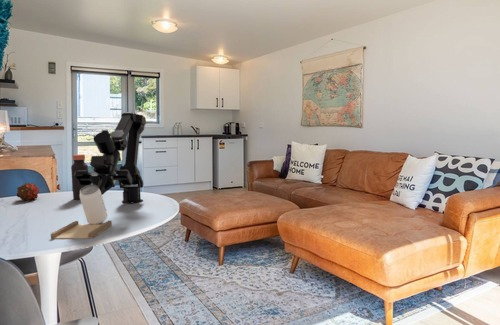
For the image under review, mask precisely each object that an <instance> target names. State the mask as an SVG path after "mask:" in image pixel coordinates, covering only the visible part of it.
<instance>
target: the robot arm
mask: <svg viewBox="0 0 500 325" xmlns="http://www.w3.org/2000/svg"><path fill="white" fill-rule="evenodd" d="M146 124H147V119H146V116H144V115H143V114H138V113H135V112H131V111H129V112H127V111H125V112H122V113H121V118H120V119H119V122H118V123H117V126H116V127H115V129H114V131H111V132H110V133H109V130H108V129H106V130H105V129H102V130H101V131H100V132H98V133H97V134H95V135H94V136H93V142H94V143H95V146H96V147H97V150H98V151H99V153H100V154H102V155H91V157H90V163H89V166H90V167H92V168H93V172H91V174H90V172H89V170H88V171H76V172H75V174H74V177H75V179H76V181H77V182H78V184H79V185H80V186H87V185H97V186H98V188H99V189H100V191H101V194H102V196H103V195H104V194H106V192H107V191H109V190H110V189H112V188H115V186H116V182H117V181H118V184H119V189H122V190H123V192H122V200H121V202H122V203H127V204H135V203H139V202H143V201H144V199H141V189H142V188H144V180H143V177H142V175H141V172H140V169H139V168H138V155H139V146H140V136H141V134H142V133H143V132H144V131H145V125H146ZM125 150H126V153H125V162H124V164H123V165H122V166H120V167H119V169H118V168H117V166H118V163H119V162H121V160H122V159H121V153H120V152H124V151H125Z"/></svg>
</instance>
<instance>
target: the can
mask: <svg viewBox="0 0 500 325" xmlns="http://www.w3.org/2000/svg"><path fill="white" fill-rule="evenodd" d="M80 203H81V205H82V209H83V213H84V216H85V218H86V222H87V223H88V224H103V222H104V223H105V221H106V220H107V218H108V213H107V209H106V204H105V202H104V198H103V195H102V194H101V191H100V189H99V188H98V186H97V185H93V184H91V185H87V186H85V187H83V188H81V189H80Z"/></svg>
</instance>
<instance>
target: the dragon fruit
mask: <svg viewBox="0 0 500 325" xmlns="http://www.w3.org/2000/svg"><path fill="white" fill-rule="evenodd" d="M16 189H17V191H16V197H18V198H20V200H22V201H28V202H29V200H30V201H31V200H37V198H38V197H39V195H38V194H40V188H39V187H38V186H37V185H36V184H33V182H32V183H31V182H27V183H23V184H22V185H21V186H18V187H17V188H16Z"/></svg>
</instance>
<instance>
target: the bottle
mask: <svg viewBox="0 0 500 325" xmlns="http://www.w3.org/2000/svg"><path fill="white" fill-rule="evenodd" d="M85 160H86V155H85V154H73V155H72V161H73V163H72V165H71V166H70V167H71V170H70V171H71V182H72V184H71V185H72V198H73V200H76V201H79V200H80V189H81V188H83V187H85V186H80V185H79V184H78V182H77V181H76V179H75V177H74V174H75V172H76V171H88V172H89V165H88V164H86V162H85ZM80 201H81V200H80Z"/></svg>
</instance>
